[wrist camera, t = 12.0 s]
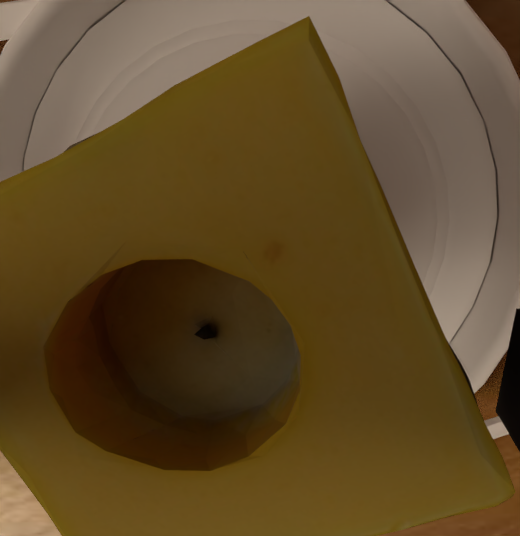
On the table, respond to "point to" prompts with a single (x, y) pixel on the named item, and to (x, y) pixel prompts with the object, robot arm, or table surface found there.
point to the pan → (360, 103)
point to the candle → (230, 323)
